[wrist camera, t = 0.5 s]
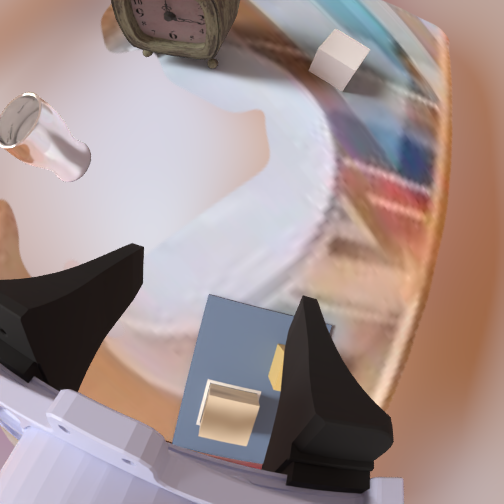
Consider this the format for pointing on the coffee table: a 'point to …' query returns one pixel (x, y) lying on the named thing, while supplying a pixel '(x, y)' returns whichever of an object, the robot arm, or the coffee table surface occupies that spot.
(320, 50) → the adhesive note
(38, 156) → the beer glass
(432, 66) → the coffee table surface
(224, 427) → the maple base block
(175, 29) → the tabletop clock
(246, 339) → the board
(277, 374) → the ochre block
